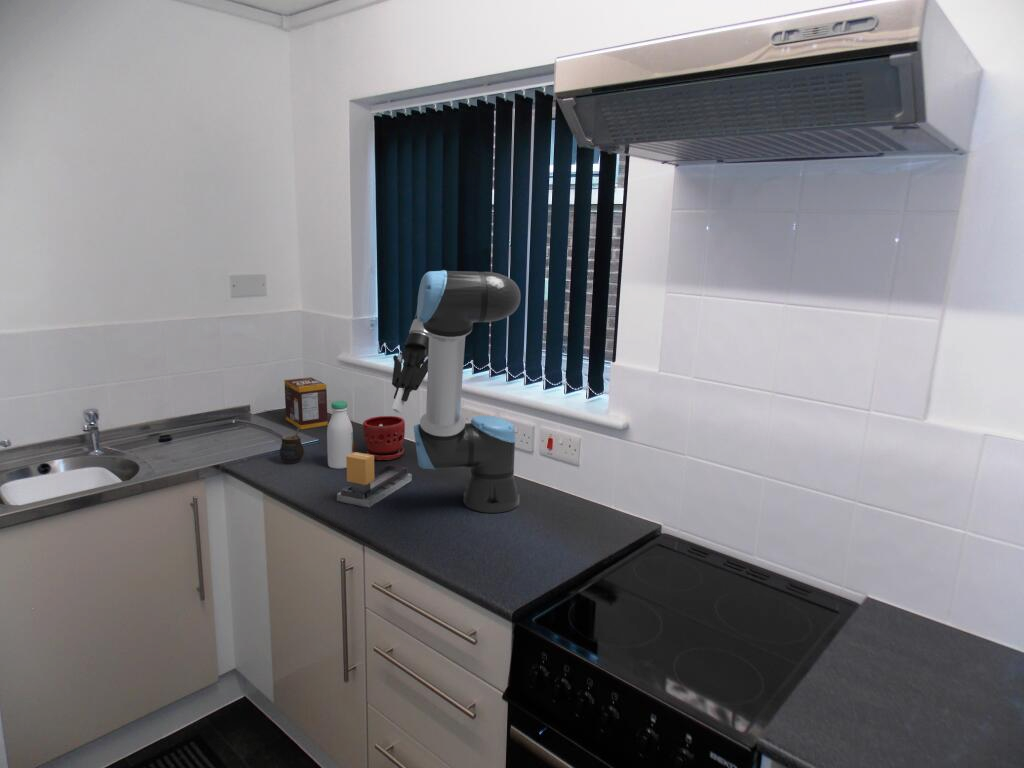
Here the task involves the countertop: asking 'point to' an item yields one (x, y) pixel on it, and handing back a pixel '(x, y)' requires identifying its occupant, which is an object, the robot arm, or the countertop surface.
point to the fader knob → (360, 471)
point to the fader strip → (377, 486)
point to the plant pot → (384, 436)
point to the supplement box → (306, 402)
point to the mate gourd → (291, 449)
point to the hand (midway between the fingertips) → (396, 410)
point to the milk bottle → (339, 436)
